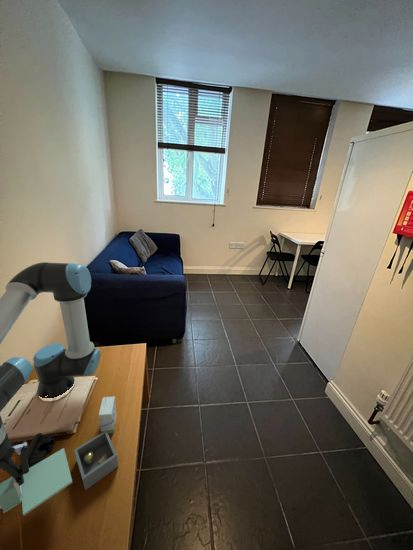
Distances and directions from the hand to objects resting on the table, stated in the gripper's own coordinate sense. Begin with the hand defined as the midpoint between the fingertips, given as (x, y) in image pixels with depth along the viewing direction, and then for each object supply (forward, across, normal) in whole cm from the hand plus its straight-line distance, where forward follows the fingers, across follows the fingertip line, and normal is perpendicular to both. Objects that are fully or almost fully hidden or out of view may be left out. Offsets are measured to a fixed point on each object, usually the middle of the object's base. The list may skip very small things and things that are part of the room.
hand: (10, 497), depth 63 cm
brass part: (+11, +20, +2) cm, 23 cm away
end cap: (+12, +7, +15) cm, 20 cm away
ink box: (+11, +30, +12) cm, 35 cm away
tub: (+11, +22, 0) cm, 25 cm away
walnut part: (+11, +24, -2) cm, 26 cm away
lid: (+2, +6, 0) cm, 7 cm away
